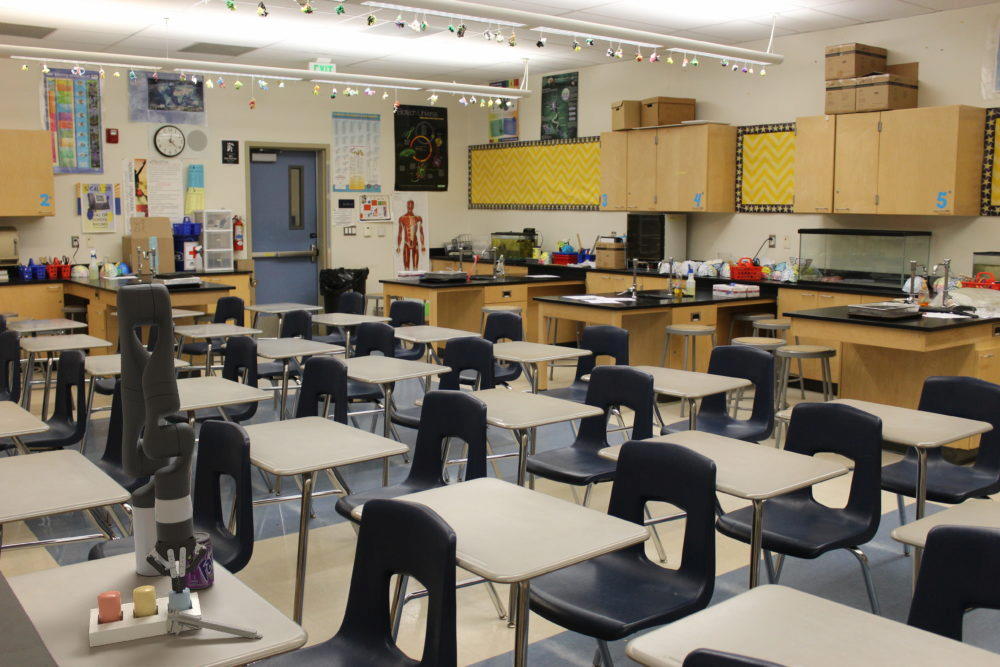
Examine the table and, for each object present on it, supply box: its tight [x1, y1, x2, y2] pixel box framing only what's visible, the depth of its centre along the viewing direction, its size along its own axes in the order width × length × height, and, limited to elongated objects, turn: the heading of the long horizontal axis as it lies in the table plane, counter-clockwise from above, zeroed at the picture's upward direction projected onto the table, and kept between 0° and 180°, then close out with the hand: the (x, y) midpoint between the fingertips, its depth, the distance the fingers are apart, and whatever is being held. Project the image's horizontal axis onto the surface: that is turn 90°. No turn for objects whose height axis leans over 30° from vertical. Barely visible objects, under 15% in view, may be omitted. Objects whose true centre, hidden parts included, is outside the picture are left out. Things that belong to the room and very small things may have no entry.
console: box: [88, 591, 203, 648], centre depth 200 cm, size 12×22×3 cm, turn 112°
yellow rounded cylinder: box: [132, 585, 157, 618], centre depth 199 cm, size 4×4×6 cm
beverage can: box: [185, 531, 215, 590], centre depth 219 cm, size 7×7×12 cm
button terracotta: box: [97, 590, 122, 624], centre depth 196 cm, size 4×4×6 cm
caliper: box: [167, 606, 264, 639], centre depth 194 cm, size 20×1×6 cm, turn 85°
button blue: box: [167, 587, 191, 611], centre depth 202 cm, size 4×4×6 cm
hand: (179, 591), depth 201 cm, fingers closed
